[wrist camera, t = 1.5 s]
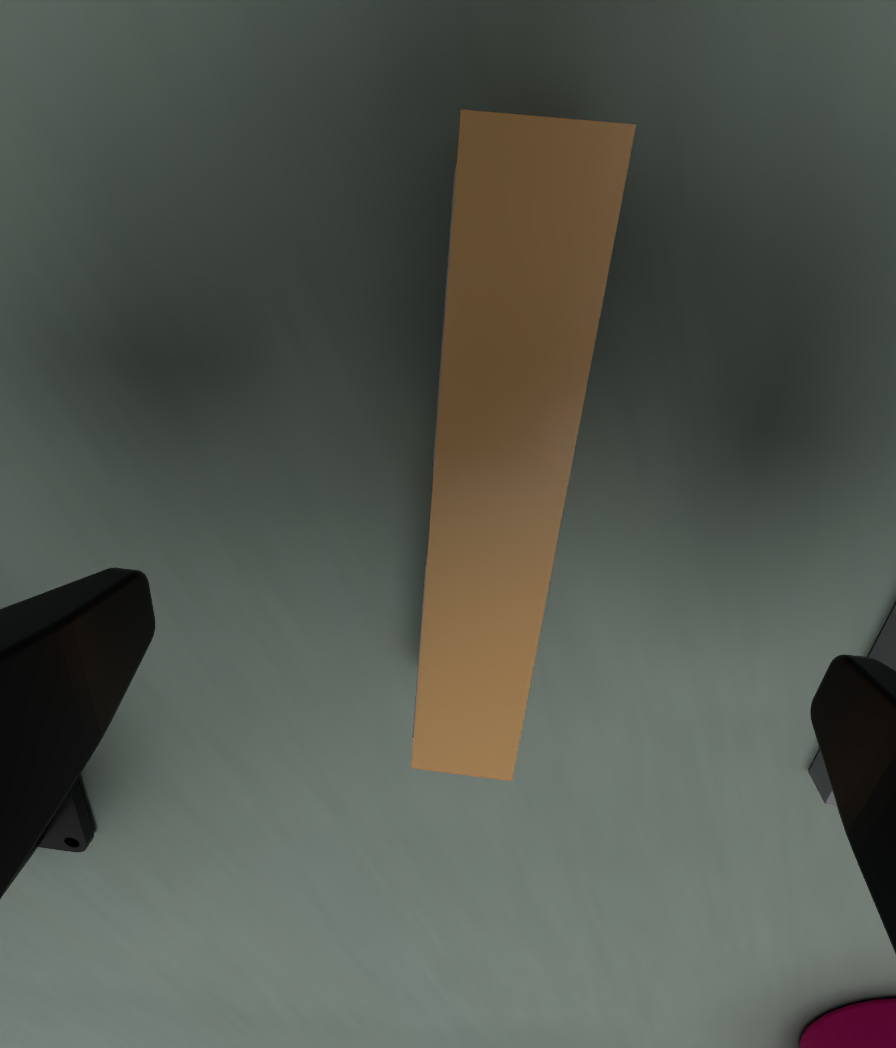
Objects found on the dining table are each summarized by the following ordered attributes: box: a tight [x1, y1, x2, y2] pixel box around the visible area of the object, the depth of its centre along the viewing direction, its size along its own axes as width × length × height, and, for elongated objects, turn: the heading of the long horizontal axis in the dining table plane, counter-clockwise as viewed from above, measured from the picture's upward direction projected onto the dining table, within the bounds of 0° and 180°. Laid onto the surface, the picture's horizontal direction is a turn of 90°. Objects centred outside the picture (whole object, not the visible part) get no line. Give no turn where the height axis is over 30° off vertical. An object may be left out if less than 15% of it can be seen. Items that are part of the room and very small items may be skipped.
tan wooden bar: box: [411, 109, 636, 781], centre depth 12 cm, size 12×2×4 cm, turn 175°
